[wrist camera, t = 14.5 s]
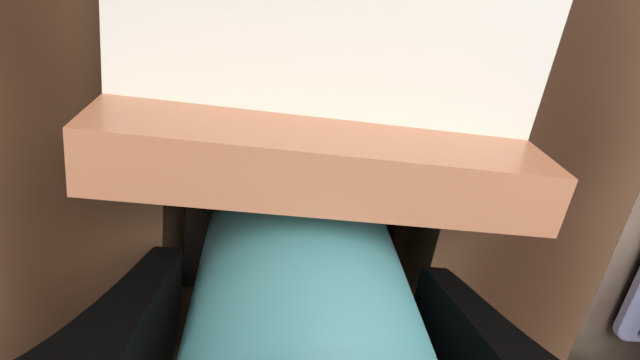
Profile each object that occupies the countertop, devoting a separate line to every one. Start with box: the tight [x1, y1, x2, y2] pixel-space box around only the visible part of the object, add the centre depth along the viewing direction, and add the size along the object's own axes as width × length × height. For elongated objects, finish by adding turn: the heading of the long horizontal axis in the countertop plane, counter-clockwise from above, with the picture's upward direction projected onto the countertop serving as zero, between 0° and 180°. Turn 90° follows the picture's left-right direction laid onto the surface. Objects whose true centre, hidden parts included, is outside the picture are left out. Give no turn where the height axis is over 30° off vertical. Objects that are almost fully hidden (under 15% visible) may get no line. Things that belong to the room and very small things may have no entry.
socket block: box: [0, 0, 640, 360], centre depth 13 cm, size 16×16×4 cm
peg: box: [177, 209, 438, 360], centre depth 12 cm, size 5×5×9 cm
